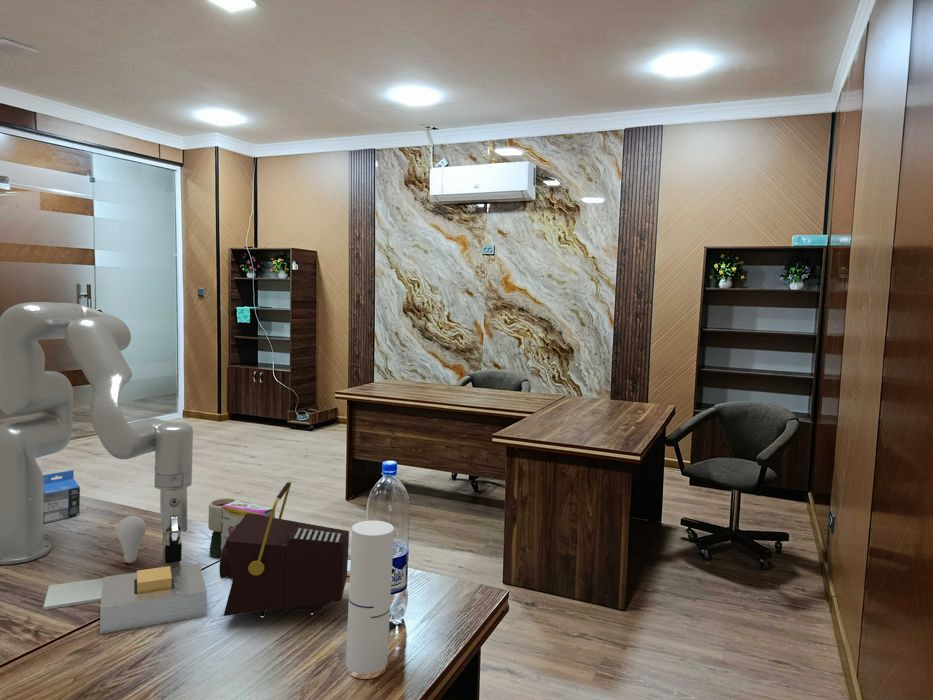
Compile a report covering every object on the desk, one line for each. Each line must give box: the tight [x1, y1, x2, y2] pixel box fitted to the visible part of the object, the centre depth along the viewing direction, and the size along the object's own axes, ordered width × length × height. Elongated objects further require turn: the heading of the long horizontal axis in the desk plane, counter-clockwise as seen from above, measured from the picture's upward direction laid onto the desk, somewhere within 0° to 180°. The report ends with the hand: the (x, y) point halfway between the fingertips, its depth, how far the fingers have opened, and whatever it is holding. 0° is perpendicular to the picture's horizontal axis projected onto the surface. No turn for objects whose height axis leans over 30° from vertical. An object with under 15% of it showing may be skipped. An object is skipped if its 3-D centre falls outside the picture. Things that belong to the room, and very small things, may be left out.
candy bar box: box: [221, 499, 276, 579], centre depth 139 cm, size 11×5×16 cm, turn 71°
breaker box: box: [99, 563, 208, 635], centre depth 123 cm, size 18×14×5 cm
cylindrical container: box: [345, 520, 395, 674], centre depth 107 cm, size 7×7×25 cm
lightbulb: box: [115, 515, 147, 564], centre depth 143 cm, size 6×6×11 cm
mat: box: [42, 577, 103, 611], centre depth 127 cm, size 10×10×1 cm
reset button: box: [136, 566, 172, 594], centre depth 123 cm, size 6×6×3 cm
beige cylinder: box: [162, 520, 181, 568], centre depth 138 cm, size 4×4×12 cm
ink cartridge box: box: [43, 469, 81, 525], centre depth 168 cm, size 9×4×12 cm, turn 147°
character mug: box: [207, 497, 240, 557], centre depth 151 cm, size 11×7×13 cm, turn 51°
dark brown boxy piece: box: [218, 480, 350, 617], centre depth 126 cm, size 16×23×25 cm
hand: (171, 553), depth 138 cm, fingers open, 9 cm apart
